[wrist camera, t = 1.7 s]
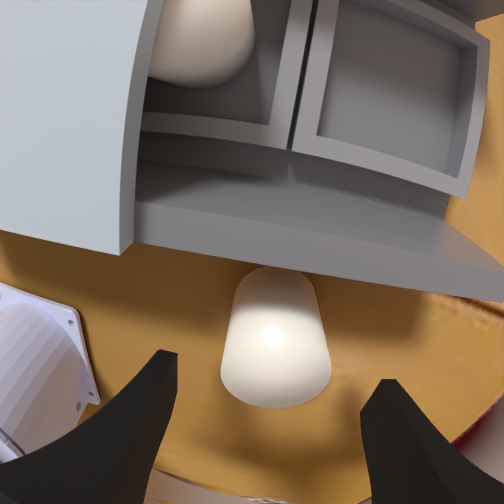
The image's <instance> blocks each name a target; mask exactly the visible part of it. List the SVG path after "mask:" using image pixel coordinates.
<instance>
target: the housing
mask: <svg viewBox="0 0 504 504" xmlns="http://www.w3.org/2000/svg"><path fill="white" fill-rule="evenodd" d="M250 3H251V9H252V15H253V21H254V28H255V34H256V45H255V50H254V54H253V56H252V58H251V60H250V62H249V64H248V65H247V66H246V68H245V69H244V70H243V71H242V72H241V73H240V74H239V75H238V76H237V77H235V78H234V79H233V80H231V81H229V82H228V83H226V84H224V85H221V86H219V87H216V88H212V89H207V90H190V89H185V88H181V87H178V86H176V85H173V84H170V83H167V82H164V81H161V80H158V79H155V78H152V77H149V76H148V77H147V83H146V89H145V96H144V103H143V110H142V118H141V126H140V135H139V145H138V156H137V168H136V183H135V202H134V242H138V243H144V244H149V245H155V246H160V247H166V248H171V249H177V250H183V251H188V252H194V253H200V254H205V255H211V256H217V257H222V258H228V259H234V260H240V261H245V262H251V263H257V264H263V265H269V266H274V267H280V268H286V269H292V270H298V271H304V272H310V273H316V274H322V275H328V276H334V277H340V278H346V279H352V280H358V281H365V282H371V283H377V284H383V285H389V286H396V287H402V288H408V289H415V290H421V291H428V292H434V293H440V294H447V295H453V296H460V297H467V298H473V299H480V300H487V301H493V302H500V303H502V301H503V299H504V266H503V265H502V264H500V263H499V262H498V261H497V260H495V259H494V258H493V257H492V256H490V255H489V254H488V253H487V252H485V251H484V250H483V249H482V248H480V247H479V246H478V245H476V244H475V243H474V242H472V241H471V240H470V239H468V238H467V237H466V236H464V235H463V234H462V233H460V232H459V231H457V230H456V229H455V228H453V227H452V226H450V225H449V224H448V223H446V222H445V221H443V217H444V213H445V210H446V207H447V204H448V200H449V197H450V195H453V196H456V197H458V198H461V199H464V200H465V198H466V195H467V191H468V188H469V184H470V180H471V176H472V172H473V168H474V164H475V159H476V155H477V150H478V145H479V140H480V135H481V129H482V123H483V117H484V110H485V102H486V94H487V84H488V72H489V52H490V40H488V39H487V38H485V37H484V36H482V35H481V34H479V33H478V32H476V31H475V22H477V21H480V20H484V19H487V18H490V17H493V16H496V15H500V14H503V13H504V0H250Z"/></svg>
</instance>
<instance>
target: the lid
mask: <svg viewBox="0 0 504 504" xmlns="http://www.w3.org/2000/svg"><path fill="white" fill-rule="evenodd" d="M163 3H164V0H0V230H4V231H9V232H13V233H17V234H22V235H26V236H30V237H35V238H39V239H43V240H48V241H52V242H57V243H62V244H66V245H71V246H75V247H80V248H85V249H90V250H94V251H99V252H104V253H109V254H114V255H119V256H120V255H121V254H122V253H123V252H124V251H125V250H126V249H127V248H128V247H129V246H130V245H131V244H132V243H133V242H134V202H135V183H136V168H137V156H138V145H139V135H140V126H141V118H142V110H143V103H144V96H145V89H146V83H147V77H148V71H149V66H150V60H151V55H152V50H153V45H154V40H155V36H156V31H157V27H158V22H159V18H160V14H161V10H162V6H163Z"/></svg>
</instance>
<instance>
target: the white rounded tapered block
mask: <svg viewBox="0 0 504 504" xmlns="http://www.w3.org/2000/svg"><path fill="white" fill-rule="evenodd" d="M255 45H256V34H255V28H254V21H253V15H252V9H251V3H250V0H164V3H163V6H162V10H161V14H160V18H159V22H158V27H157V31H156V36H155V40H154V45H153V50H152V55H151V60H150V66H149V71H148V76H149V77H152V78H155V79H158V80H161V81H164V82H167V83H170V84H173V85H176V86H178V87H181V88H185V89H190V90H207V89H212V88H216V87H219V86H221V85H224V84H226V83H228V82H229V81H231V80H233V79H234V78H235V77H237V76H238V75H239V74H240V73H241V72H242V71H243V70H244V69H245V68H246V66H247V65H248V64H249V62H250V60H251V58H252V56H253V54H254V50H255Z"/></svg>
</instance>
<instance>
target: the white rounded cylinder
mask: <svg viewBox="0 0 504 504" xmlns="http://www.w3.org/2000/svg"><path fill="white" fill-rule="evenodd" d="M331 373H332V367H331V362H330V357H329V352H328V348H327V343H326V338H325V334H324V329H323V325H322V320H321V316H320V312H319V307H318V303H317V299H316V295H315V290H314V288H313V285H312V284H311V282H310V281H309V279H308V278H307V277H306V276H305V275H304V274H302V273H301V272H299V271H298V270H292V269H286V268H280V267H274V266H264V267H260V268H258V269H255V270H253V271H252V272H250V273H249V274H247V275H246V276H245V277H244V278H243V279H242V280H241V281H240V283H239V284H238V286H237V289H236V291H235V295H234V301H233V306H232V311H231V316H230V322H229V327H228V332H227V338H226V343H225V348H224V354H223V359H222V364H221V379H222V382H223V384H224V386H225V387H226V389H227V390H228V391H229V392H230V393H231V394H232V395H233V396H235V397H236V398H238V399H239V400H241V401H243V402H245V403H247V404H250V405H253V406H257V407H262V408H287V407H292V406H296V405H299V404H302V403H305V402H307V401H309V400H311V399H312V398H314V397H315V396H317V395H318V394H319V393H320V392H322V391H323V389H324V388H325V387H326V386H327V384H328V382H329V380H330V377H331Z"/></svg>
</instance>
